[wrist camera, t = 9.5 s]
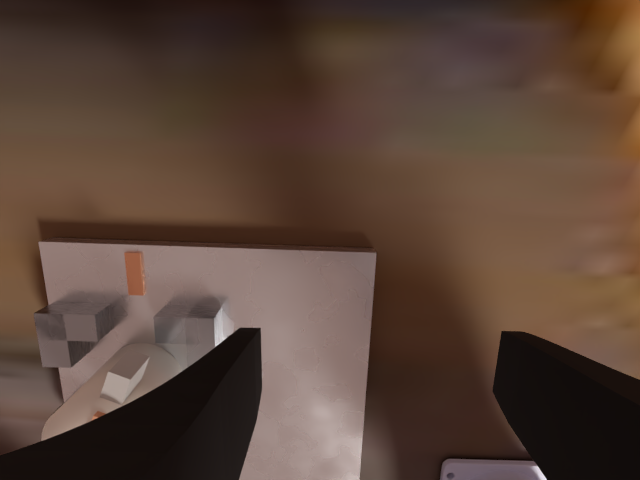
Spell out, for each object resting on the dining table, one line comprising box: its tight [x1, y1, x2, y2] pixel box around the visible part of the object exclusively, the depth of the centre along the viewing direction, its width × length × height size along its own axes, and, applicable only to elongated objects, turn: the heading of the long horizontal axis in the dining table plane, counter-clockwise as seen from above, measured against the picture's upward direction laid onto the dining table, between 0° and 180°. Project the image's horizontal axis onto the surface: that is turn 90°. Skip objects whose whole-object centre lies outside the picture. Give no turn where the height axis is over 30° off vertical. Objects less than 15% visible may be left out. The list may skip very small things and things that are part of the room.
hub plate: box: [34, 237, 377, 480], centre depth 20 cm, size 16×18×2 cm
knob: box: [42, 343, 182, 441], centre depth 18 cm, size 6×4×5 cm
